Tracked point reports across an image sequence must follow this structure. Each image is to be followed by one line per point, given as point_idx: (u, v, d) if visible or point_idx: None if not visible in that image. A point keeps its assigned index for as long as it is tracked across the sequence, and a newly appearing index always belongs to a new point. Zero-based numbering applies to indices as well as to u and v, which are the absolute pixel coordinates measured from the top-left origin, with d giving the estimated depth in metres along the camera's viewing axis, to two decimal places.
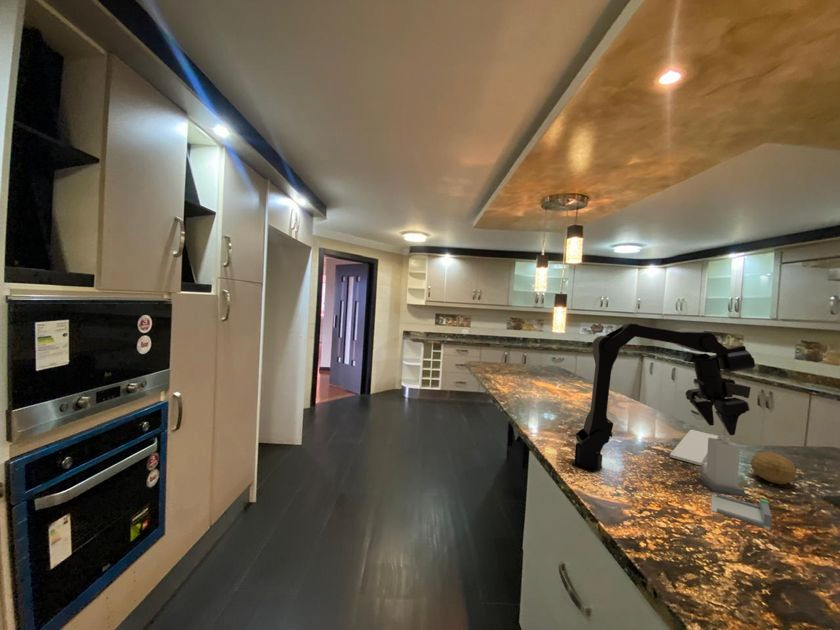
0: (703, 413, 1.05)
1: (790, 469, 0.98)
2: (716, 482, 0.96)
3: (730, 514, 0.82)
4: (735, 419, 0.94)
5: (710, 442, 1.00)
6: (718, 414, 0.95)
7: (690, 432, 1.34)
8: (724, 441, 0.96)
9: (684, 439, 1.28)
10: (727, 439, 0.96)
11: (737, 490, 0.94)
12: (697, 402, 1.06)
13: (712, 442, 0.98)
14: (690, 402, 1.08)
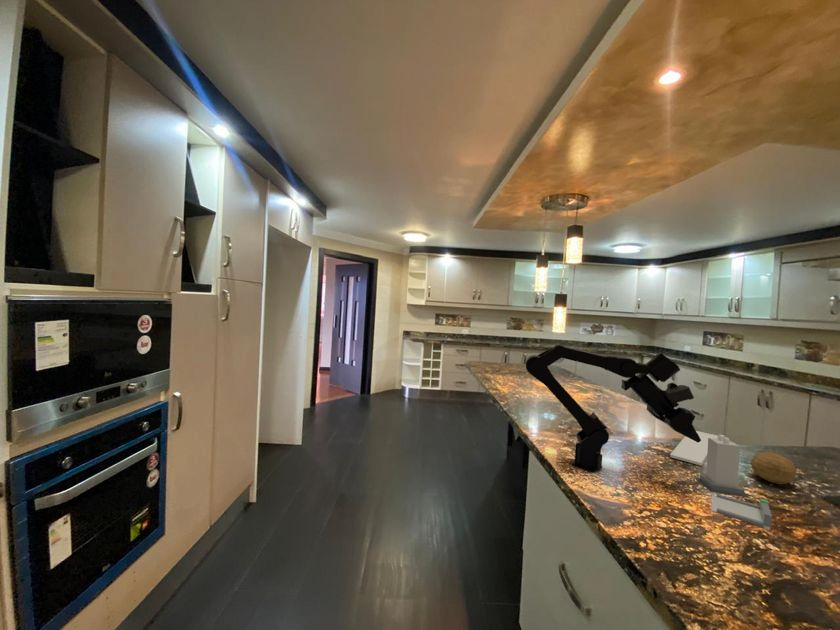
0: None
1: (790, 470, 0.98)
2: (716, 482, 0.96)
3: (730, 514, 0.82)
4: (691, 427, 0.95)
5: (710, 442, 1.00)
6: None
7: None
8: (724, 441, 0.96)
9: (684, 439, 1.28)
10: (727, 439, 0.96)
11: (737, 490, 0.94)
12: None
13: (712, 442, 0.98)
14: None
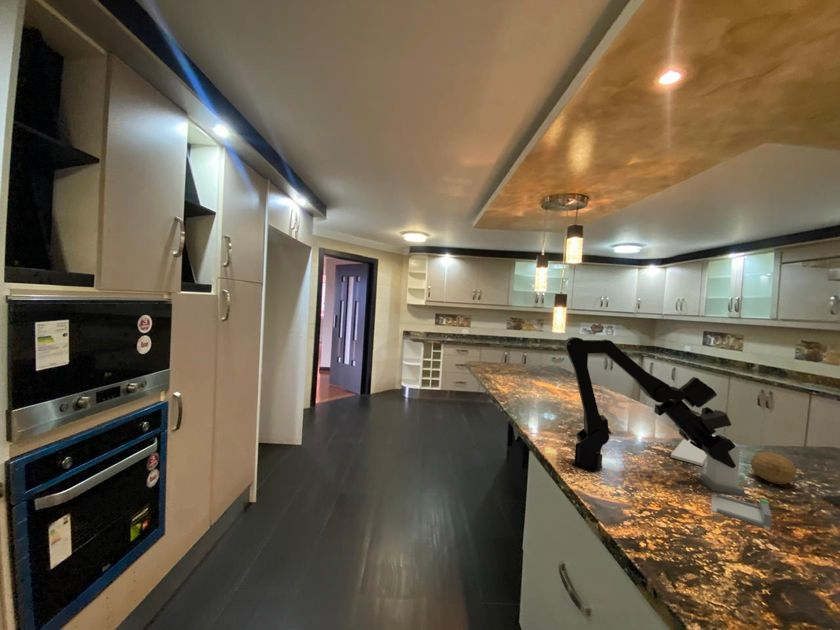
0: None
1: (790, 469, 0.98)
2: (716, 482, 0.96)
3: (730, 514, 0.82)
4: (726, 453, 0.94)
5: None
6: None
7: None
8: None
9: None
10: None
11: (737, 490, 0.94)
12: (696, 443, 1.02)
13: None
14: (691, 443, 1.04)
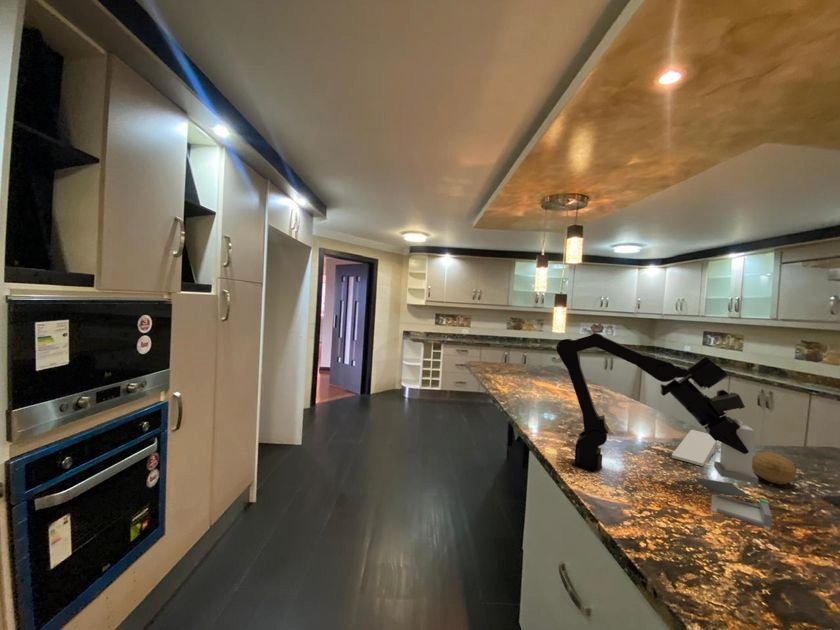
0: None
1: (790, 469, 0.98)
2: (726, 468, 0.89)
3: (730, 514, 0.82)
4: (736, 437, 0.87)
5: None
6: None
7: (691, 432, 1.33)
8: None
9: (685, 440, 1.28)
10: (740, 423, 0.89)
11: (750, 478, 0.86)
12: None
13: None
14: (705, 428, 0.98)
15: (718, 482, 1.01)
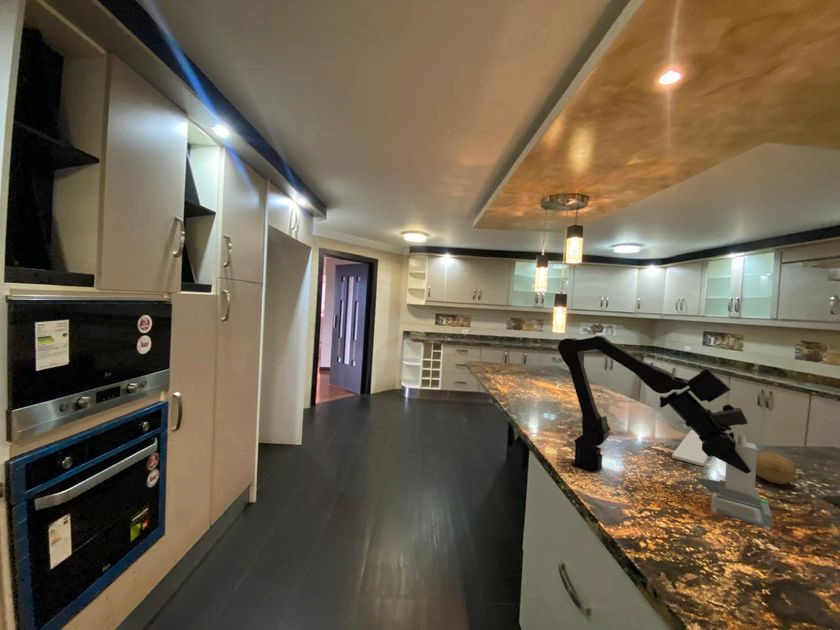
0: None
1: (790, 469, 0.98)
2: (726, 487, 0.85)
3: (730, 514, 0.82)
4: (735, 454, 0.83)
5: None
6: None
7: (691, 432, 1.33)
8: (739, 442, 0.84)
9: (685, 440, 1.28)
10: (742, 440, 0.84)
11: (751, 499, 0.81)
12: None
13: None
14: None
15: (718, 482, 1.01)
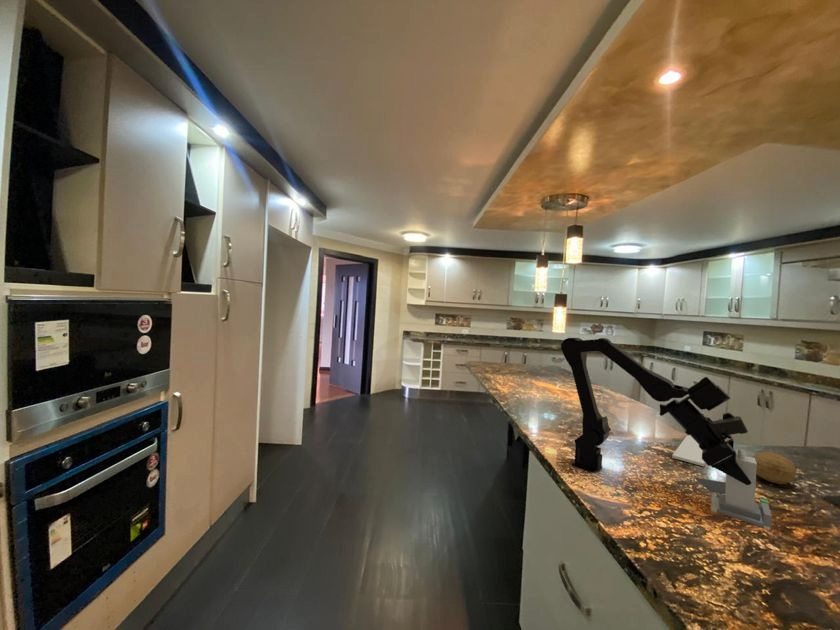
0: None
1: (790, 469, 0.98)
2: (726, 501, 0.85)
3: (730, 514, 0.82)
4: (735, 466, 0.81)
5: None
6: None
7: None
8: (739, 456, 0.84)
9: (686, 440, 1.27)
10: (742, 454, 0.84)
11: (751, 514, 0.81)
12: None
13: None
14: None
15: (718, 482, 1.01)
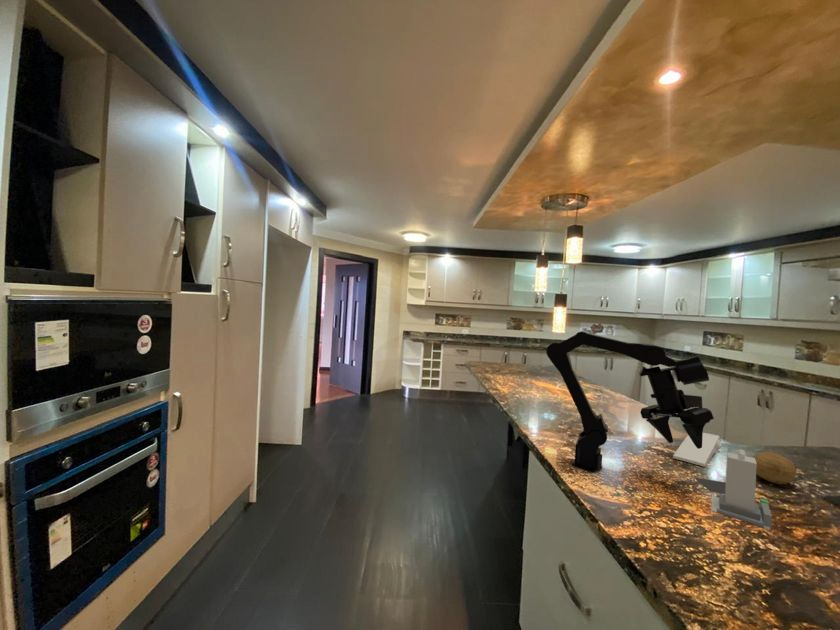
0: (662, 430, 1.01)
1: (790, 469, 0.98)
2: (726, 501, 0.85)
3: (730, 514, 0.82)
4: (701, 430, 0.91)
5: (727, 457, 0.88)
6: (686, 427, 0.91)
7: None
8: (739, 456, 0.84)
9: (686, 440, 1.27)
10: (742, 454, 0.84)
11: (751, 514, 0.81)
12: (655, 419, 1.02)
13: (727, 456, 0.87)
14: (647, 421, 1.04)
15: (718, 482, 1.01)
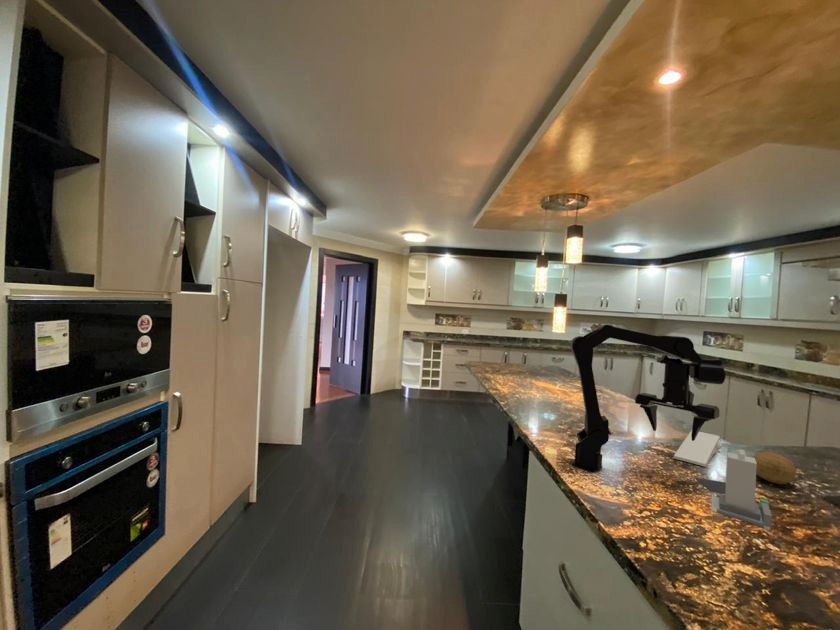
0: (653, 418, 1.03)
1: (790, 469, 0.99)
2: (726, 501, 0.85)
3: (730, 514, 0.82)
4: (701, 425, 0.96)
5: (727, 457, 0.88)
6: (698, 420, 0.94)
7: (691, 432, 1.33)
8: (739, 456, 0.84)
9: (686, 440, 1.27)
10: (742, 454, 0.84)
11: (751, 514, 0.81)
12: (651, 407, 1.03)
13: (727, 456, 0.87)
14: (641, 407, 1.04)
15: (718, 482, 1.01)
